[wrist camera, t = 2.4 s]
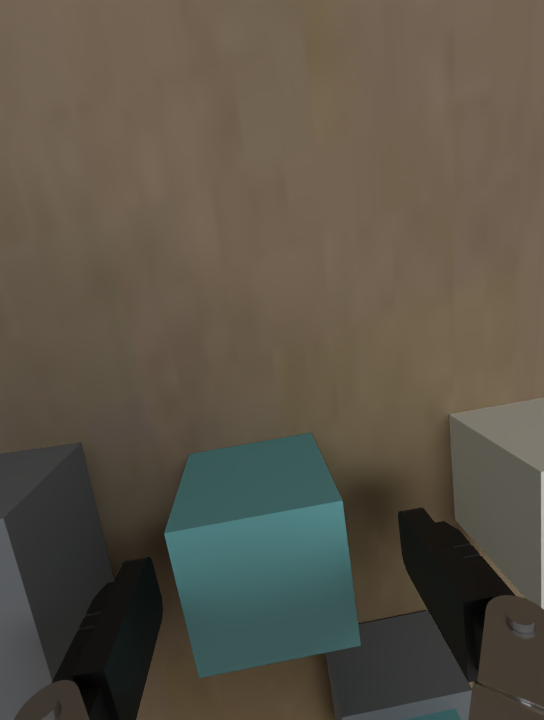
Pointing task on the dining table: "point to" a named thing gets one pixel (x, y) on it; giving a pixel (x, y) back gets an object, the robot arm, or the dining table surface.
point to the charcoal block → (44, 565)
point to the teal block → (261, 556)
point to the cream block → (503, 488)
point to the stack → (398, 674)
